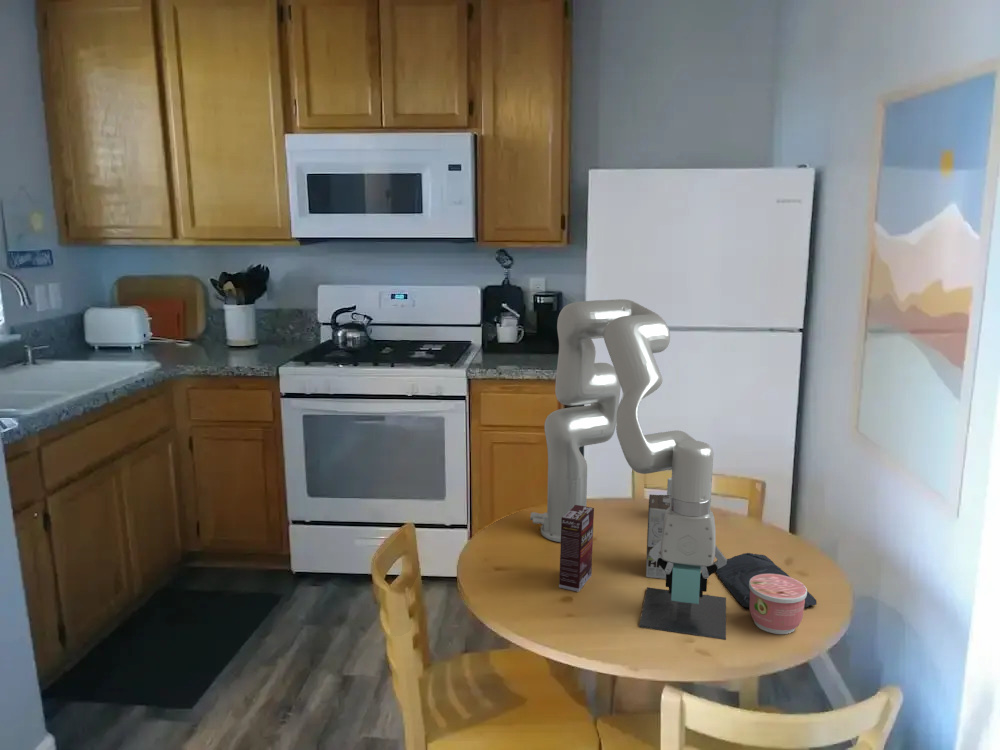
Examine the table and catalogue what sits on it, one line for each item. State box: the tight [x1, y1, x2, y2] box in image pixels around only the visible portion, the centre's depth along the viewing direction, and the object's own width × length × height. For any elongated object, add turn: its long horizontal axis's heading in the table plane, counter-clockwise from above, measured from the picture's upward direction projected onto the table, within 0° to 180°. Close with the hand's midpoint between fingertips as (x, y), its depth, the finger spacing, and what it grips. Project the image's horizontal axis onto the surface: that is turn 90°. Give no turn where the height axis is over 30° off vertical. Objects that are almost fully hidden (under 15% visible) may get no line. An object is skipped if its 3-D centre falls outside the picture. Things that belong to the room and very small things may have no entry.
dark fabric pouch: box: [715, 552, 817, 609], centre depth 166 cm, size 15×22×5 cm
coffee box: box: [645, 494, 670, 580], centre depth 173 cm, size 9×6×16 cm
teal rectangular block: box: [671, 563, 701, 604], centre depth 154 cm, size 5×5×7 cm
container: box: [748, 574, 808, 635], centre depth 151 cm, size 10×10×8 cm
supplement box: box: [558, 505, 595, 593], centre depth 167 cm, size 9×5×16 cm, turn 155°
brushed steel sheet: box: [638, 586, 727, 640], centre depth 155 cm, size 16×16×7 cm
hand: (685, 591), depth 155 cm, fingers closed on teal rectangular block, 5 cm apart
